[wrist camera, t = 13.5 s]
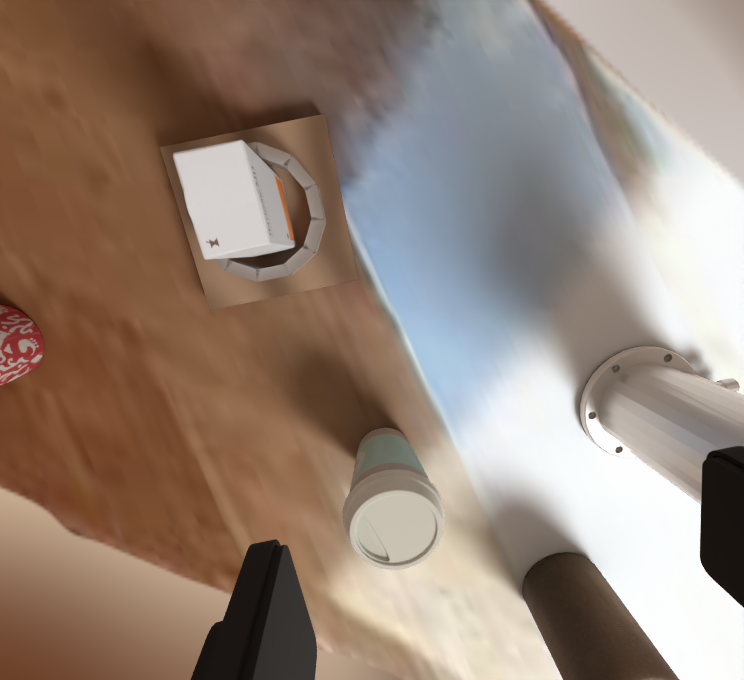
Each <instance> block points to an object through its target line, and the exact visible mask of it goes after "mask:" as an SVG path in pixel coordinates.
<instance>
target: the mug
mask: <svg viewBox="0 0 744 680" xmlns="http://www.w3.org/2000/svg"><path fill="white" fill-rule="evenodd" d="M43 352H44V343H43V338H42V335H41V333H40V331H39V329H38V327H37V326H36V325H35V323H34V322H33V321H32V320H31V319H30V318H29V317H28V316H27V315H25V314H24V313H22V312H20V311H18V310H17V309H15V308H12V307H9V306H5V305H0V386H1V385H3V384H6V383H8V382H10V381H12V380H14V379H16V378H18V377H21V376H23V375H25V374H27V373H28V372H30V371H31V370H33V369H34V368H35V367H36V366H37V365H38V364H39V362H40V360H41V358H42V356H43Z"/></svg>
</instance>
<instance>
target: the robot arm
mask: <svg viewBox="0 0 744 680" xmlns="http://www.w3.org/2000/svg"><path fill="white" fill-rule="evenodd" d="M739 388H740V387H739V384H738V382H737V381H736V380H734V379H725V380H720V381H717V382H714V381H711V380H708V379H706V378H703V377H700V376H698V375H696V372H695V370H694V369H693V368H692V366H691V365H690V363H689V362H688V361H687V360H685V359H684V358H683V357H682V356H680V355H678V354H677V353H675V352H673V351H670V350H667V349H664V348H660V347H654V346H640V347H635V348H630V349H627V350H625V351H622V352H620V353H618V354H616V355H614V356H613V357H611V358H609V359H608V360H607V361H606V362H604V363H603V364H602V365H601V366H600V367H599V368H598V369H597V370H596V371H595V372H594V374H593V375H592V376H591V378H590V379H589V381H588V383H587V384H586V386H585V389H584V391H583V394H582V398H581V403H580V417H581V422H582V426H583V428H584V430H585V432H586V434H587V435H588V436H589V438H590V439H591V440H592V441H593V442H594V443H595V444H596V445H598V446H599V447H600V448H601V449H603V450H604V451H606V452H608V453H610V454H612V455H615V456H619V457H626V458H634V457H638V458H639V459H640V460H642V461H643V462H644V463H646V464H647V465H648V466H650V467H651V468H652V469H654V470H655V471H656V472H658V473H659V474H660V475H662V476H663V477H664V478H666V479H667V480H669V481H670V482H671V483H673V484H674V485H675V486H677V487H678V488H679V489H681V490H682V491H683V492H685V493H686V494H687V495H689V496H690V497H691V498H693V499H694V500H696V501H697V502H698V503H700V504H701V536H700V560H701V563H702V565H703V567H704V569H705V570H706V572H707V573H708V575H709V576H710V577H711V578H712V579H713V580H714V581H716V582H717V583H718V584H719V585H720V586H721V587H722V588H723V589H724V590H725V591H726V592H727V593H729V594H730V595H731V596H732V597H733V598H734V599H735V600H736V601H737V602H738V603H739V604H740V605H742V606H743V607H744V395H742V394H740V393H737V392H736V391H738V390H739ZM316 659H317V645H316V637H315V633H314V630H313V627H312V624H311V620H310V617H309V614H308V610H307V607H306V604H305V600H304V597H303V594H302V591H301V587H300V584H299V581H298V577H297V574H296V571H295V567H294V564H293V561H292V558H291V554H290V551H289V548H288V546H287V545H282V546H280V543H279V541H278V540H270V541H265V542H260V543H255V544H251V545H250V546H249V548H248V550H247V553H246V556H245V559H244V562H243V565H242V568H241V570H240V573H239V576H238V579H237V582H236V585H235V588H234V591H233V593H232V596H231V599H230V602H229V605H228V608H227V611H226V613H225V616H224V619H223V621H220V622H217V623H215V624H214V625H213V626H212V628H211V629H210V631H209V634H208V635H207V638H206V640H205V643H204V646H203V648H202V651H201V654H200V656H199V659H198V662H197V664H196V667H195V670H194V672H193V675H192V678H191V680H315V670H316Z"/></svg>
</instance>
